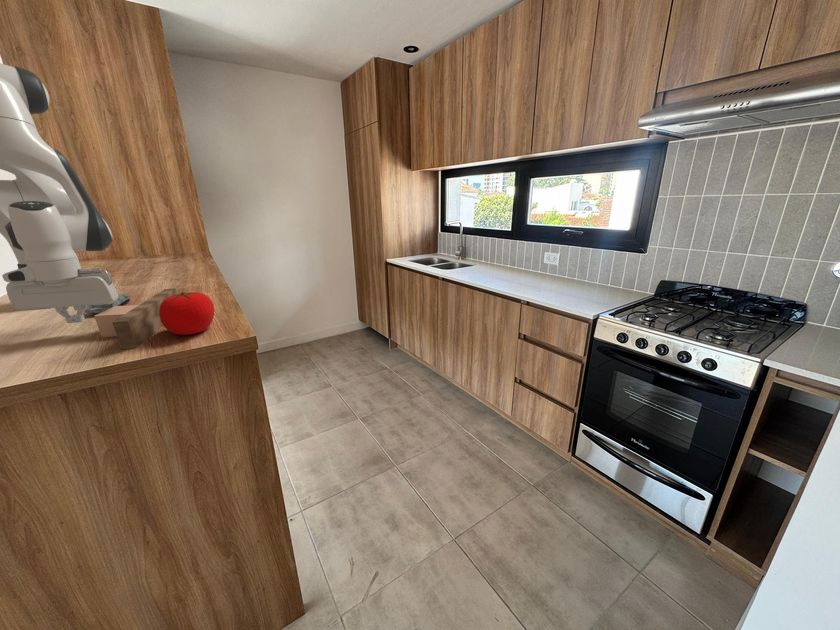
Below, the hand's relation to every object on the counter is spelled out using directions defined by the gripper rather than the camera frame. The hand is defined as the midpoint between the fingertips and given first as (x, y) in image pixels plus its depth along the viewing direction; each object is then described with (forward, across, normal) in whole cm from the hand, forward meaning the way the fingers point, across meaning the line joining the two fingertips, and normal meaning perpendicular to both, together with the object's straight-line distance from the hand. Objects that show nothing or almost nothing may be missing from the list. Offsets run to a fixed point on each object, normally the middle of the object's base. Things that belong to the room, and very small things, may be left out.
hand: (76, 322), depth 86 cm
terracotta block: (+3, -11, +1) cm, 12 cm away
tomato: (+3, -28, +7) cm, 29 cm away
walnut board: (+3, -17, 0) cm, 17 cm away
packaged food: (+4, +3, -20) cm, 20 cm away
